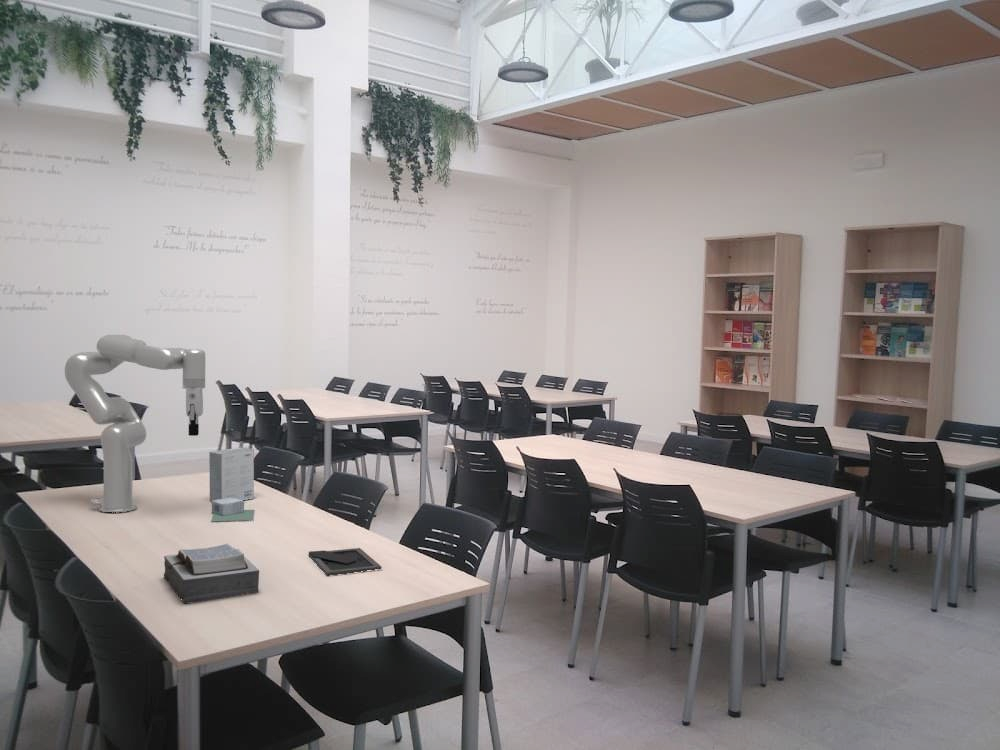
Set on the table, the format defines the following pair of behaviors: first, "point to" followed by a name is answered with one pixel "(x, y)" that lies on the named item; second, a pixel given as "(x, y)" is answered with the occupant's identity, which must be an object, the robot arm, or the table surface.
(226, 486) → the hard drive box
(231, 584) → the book on foam base
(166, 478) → the table surface
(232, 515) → the felt pad
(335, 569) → the picture frame
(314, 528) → the table surface
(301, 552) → the table surface
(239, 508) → the medicine box
